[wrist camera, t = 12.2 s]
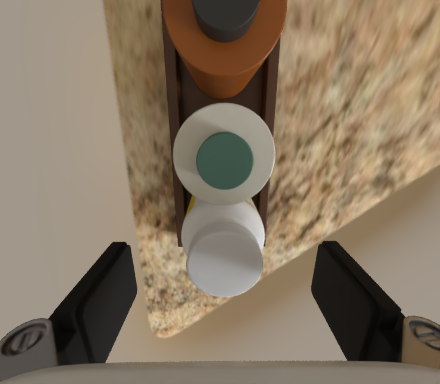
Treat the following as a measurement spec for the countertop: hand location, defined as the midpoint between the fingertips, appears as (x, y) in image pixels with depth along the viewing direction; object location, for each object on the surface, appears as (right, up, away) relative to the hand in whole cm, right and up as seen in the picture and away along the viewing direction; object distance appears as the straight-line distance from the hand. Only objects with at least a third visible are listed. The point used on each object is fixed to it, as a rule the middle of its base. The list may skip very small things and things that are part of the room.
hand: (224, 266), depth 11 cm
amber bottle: (0, +14, +6) cm, 15 cm away
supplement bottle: (0, +3, +10) cm, 10 cm away
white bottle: (0, +8, +8) cm, 11 cm away
